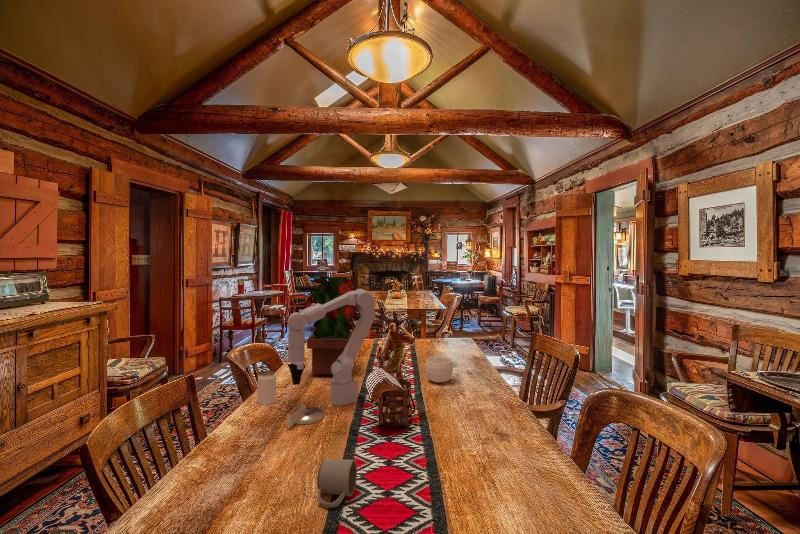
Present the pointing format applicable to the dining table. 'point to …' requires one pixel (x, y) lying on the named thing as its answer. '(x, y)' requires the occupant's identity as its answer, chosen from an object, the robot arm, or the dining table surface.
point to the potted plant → (330, 323)
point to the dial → (304, 415)
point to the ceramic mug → (336, 479)
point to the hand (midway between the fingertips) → (296, 383)
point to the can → (266, 387)
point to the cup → (439, 369)
